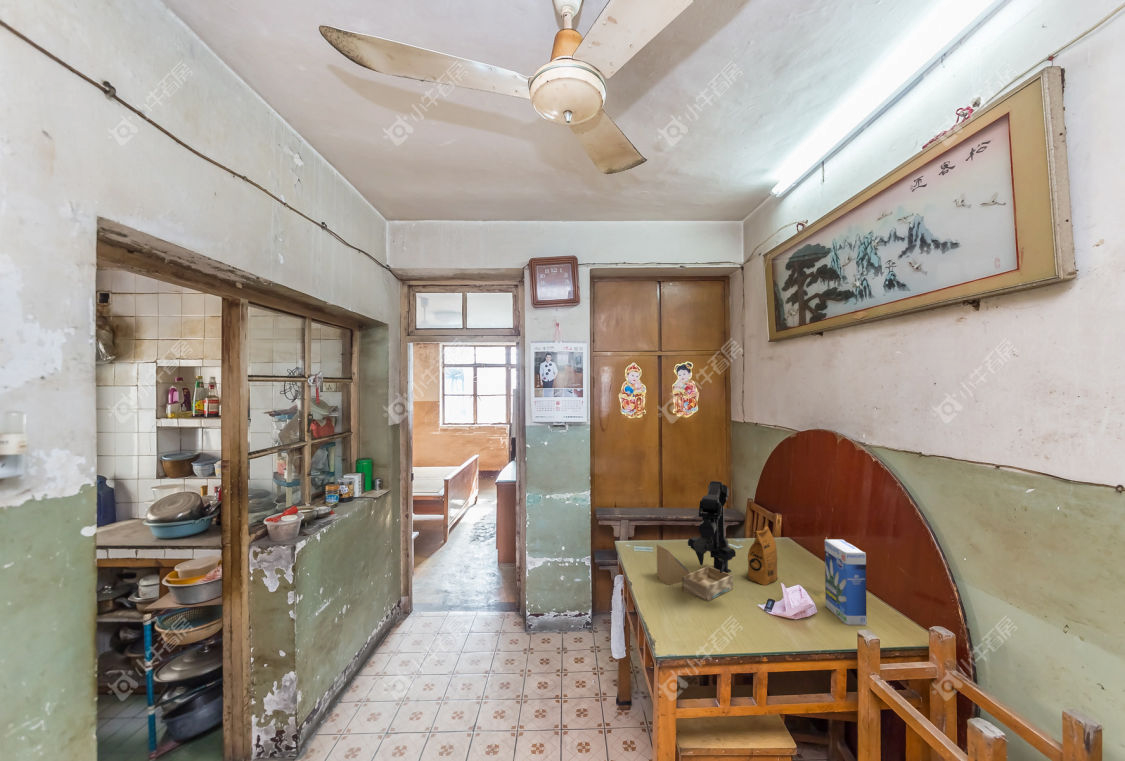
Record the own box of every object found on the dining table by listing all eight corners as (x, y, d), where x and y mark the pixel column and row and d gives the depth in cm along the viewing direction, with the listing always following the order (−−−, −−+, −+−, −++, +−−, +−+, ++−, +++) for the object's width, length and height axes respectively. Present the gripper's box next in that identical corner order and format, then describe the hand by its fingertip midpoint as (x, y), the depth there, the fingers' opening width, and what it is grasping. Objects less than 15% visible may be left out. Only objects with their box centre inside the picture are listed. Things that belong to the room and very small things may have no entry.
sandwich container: (697, 578, 188) (696, 544, 188) (668, 585, 182) (668, 550, 182) (684, 571, 196) (683, 538, 196) (657, 577, 190) (656, 543, 190)
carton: (708, 578, 188) (708, 565, 188) (731, 587, 179) (731, 574, 179) (682, 589, 177) (682, 576, 177) (705, 600, 168) (705, 587, 168)
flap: (731, 588, 178) (730, 574, 178) (732, 588, 177) (732, 575, 177) (706, 600, 168) (706, 586, 168) (708, 601, 167) (708, 586, 168)
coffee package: (744, 578, 187) (743, 528, 187) (759, 571, 194) (758, 523, 194) (765, 587, 179) (764, 535, 179) (781, 579, 186) (780, 529, 186)
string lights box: (824, 606, 163) (823, 538, 164) (844, 606, 163) (843, 538, 163) (846, 625, 150) (845, 552, 150) (868, 625, 150) (867, 552, 150)
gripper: (678, 527, 173) (679, 566, 173) (718, 540, 158) (719, 582, 158) (696, 522, 180) (696, 559, 179) (736, 534, 165) (736, 574, 164)
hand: (711, 568), depth 170 cm, fingers open, 9 cm apart
